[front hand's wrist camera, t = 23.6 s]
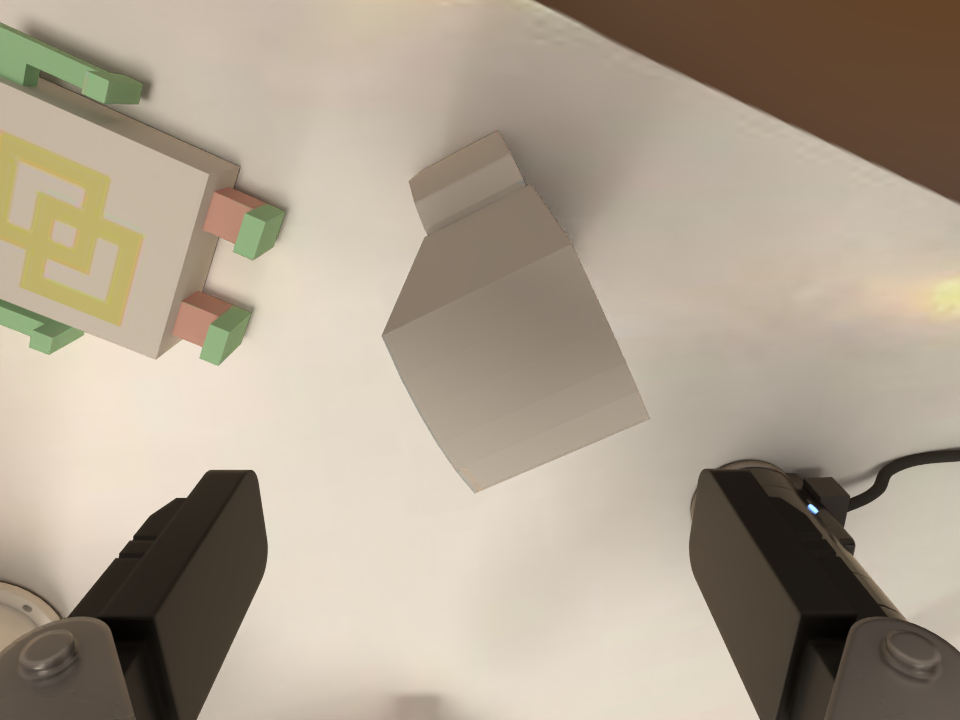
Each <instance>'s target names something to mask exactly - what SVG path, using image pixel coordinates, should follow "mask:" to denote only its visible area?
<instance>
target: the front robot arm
mask: <svg viewBox="0 0 960 720" xmlns="http://www.w3.org/2000/svg"><path fill="white" fill-rule="evenodd" d="M956 461H960V450H956V451H941V452H929V453H921V454H916V455H911V456H907V457H904V458H901V459H898V460H896V461H894V462H892V463H890V464H888V465H886V466H885V467H883V468H882V469H881V470H880V471H879V473H878V475H877V477H876V480H875V483H874V485H873V486H872V487H871V488H870V489H868V490H867V491H865V492H864V493H862V494H860V495H857V496H855V497H853V498H850V495H849V494H848V493H847V492H846V491H845V490H844V489H843V488H842V487H841V486H840V485H839V484H838V483H837V482H836V481H835V480H834V479H833V478H832V477H824V478H804V482H803V481H802V480H801V478H800V477H799V476H798V475H797V474H785V473H784V472H783V471H782V470H781V469H779V468H778V467H776V466H774V465H772V464H769V463H766V462H761V461H741V462H736V463H732V464H729V465H727V466H724V467H722V468H720V469H704V470H702V472H701V474H700V476H699V480H698V486H697V491H696V493H695V495H694V497H693V500H692V504H691V518H692V526H691V533H690V541H689V554H690V562H691V567H692V571H693V574H694V577H695V579H696V581H697V583H698V586H699V588H700V590H701V592H702V594H703V597H704V599H705V601H706V603H707V605H708V607H709V610H710V612H711V614H712V616H713V618H714V620H715V623H716V625H717V627H718V629H719V631H720V634H721V636H722V638H723V640H724V642H725V644H726V647H727V649H728V651H729V653H730V655H731V657H732V660H733V662H734V664H735V666H736V668H737V671H738V673H739V675H740V677H741V679H742V681H743V684H744V686H745V688H746V690H747V692H748V694H749V697H750V699H751V701H752V703H753V705H754V708H755V710H756V712H757V714H758V716H759V718H760V720H960V652H959V651H958V650H957V649H956V648H955V647H953V646H952V645H951V644H950V643H948V642H947V641H946V640H944V639H942V638H941V637H939V636H938V635H936V634H934V633H933V632H931V631H929V630H927V629H925V628H923V627H920V626H918V625H916V624H913V623H910V622H908V621H907V620H906V619H905V617H904V616H903V615H902V614H901V613H900V611H899V610H898V609H897V608H896V607H895V605H894V604H893V603H892V602H891V601H890V600H889V598H888V597H887V596H886V595H885V594H884V592H883V591H882V590H881V589H880V588H879V586H878V585H877V584H876V583H875V582H874V581H873V579H872V578H871V577H870V576H869V575H868V573H867V572H866V571H865V570H864V569H863V567H862V566H861V565H860V564H859V563H858V561H857V560H856V559H855V558H854V557H853V556H854V551H855V541H854V540H853V538H852V537H851V536H850V535H849V534H848V532H847V531H846V530H845V529H844V524H845V519H846V514H847V512H849V511H851V510H854V509H857V508H859V507H861V506H864V505H866V504H868V503H870V502H872V501H873V500H875V499H876V498H878V497H879V496H880V495H881V494H882V493H883V492H884V491H885V490H886V488H887V486H888V482H889V479H890V477H891V476H892V475H893V474H895V473H897V472H899V471H901V470H904V469H906V468H909V467H913V466H917V465H923V464H930V463H942V462H956ZM267 553H268V544H267V536H266V529H265V522H264V516H263V509H262V503H261V496H260V489H259V483H258V478H257V476H256V473H255V472H254V471H253V470H209V471H208V472H206V473H205V475H204V476H203V477H202V479H201V480H200V481H199V482H198V484H197V485H196V486H195V488H194V489H193V490H192V492H191V493H190V494H189V496H188V497H187V498H176V499H174V500H173V501H171V502H170V503H168V504H167V505H165V506H164V507H162V508H161V509H159V510H158V511H156V512H155V513H153V514H152V515H151V516H150V517H149V518H148V519H147V520H146V521H145V523H144V524H143V525H142V526H141V528H140V529H139V530H138V531H137V533H136V534H135V535H134V536H133V541H129V542H128V544H127V545H126V546H125V547H124V549H123V550H122V551H121V552H120V553H119V558H115V560H114V561H113V562H112V563H111V565H110V566H109V567H108V568H107V569H106V571H105V572H104V573H103V574H102V576H101V577H100V578H99V579H98V580H97V582H96V583H95V584H94V585H93V587H92V588H91V589H90V590H89V592H88V593H87V594H86V595H85V596H84V598H83V599H82V600H81V601H80V603H79V604H78V605H77V606H76V608H75V609H74V610H73V611H72V612H71V614H70V615H69V616H68V617H67V618H64V619H60V620H56V621H53V622H50V623H47V624H44V625H42V626H40V627H37V628H35V629H33V630H31V631H29V632H27V633H26V634H24V635H22V636H21V637H19V638H18V639H16V640H14V641H13V642H12V643H10V644H9V645H8V646H7V647H5V648H4V649H3V650H2V651H1V652H0V720H197V717H198V715H199V713H200V711H201V709H202V707H203V705H204V702H205V700H206V698H207V696H208V694H209V692H210V690H211V687H212V685H213V683H214V681H215V679H216V677H217V674H218V672H219V670H220V668H221V666H222V664H223V662H224V659H225V657H226V655H227V653H228V651H229V649H230V647H231V644H232V642H233V640H234V638H235V636H236V634H237V631H238V629H239V627H240V625H241V623H242V621H243V619H244V616H245V614H246V612H247V610H248V608H249V606H250V604H251V601H252V599H253V597H254V595H255V593H256V591H257V589H258V586H259V584H260V582H261V580H262V578H263V575H264V572H265V568H266V563H267Z"/></svg>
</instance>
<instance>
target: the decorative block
mask: <svg viewBox="0 0 960 720" xmlns="http://www.w3.org/2000/svg"><path fill="white" fill-rule="evenodd" d="M40 70H42V71H44V72H47V73H49V74H51V75H53V76H55V77H58V78H60V79H62V80H64V81H67V82H69V83H71V84H73V85H75V86H78V87H80V88H82V92H81V94H84V95H86V96H88V97H90V98H93V99H95V100H97V101H99V102H101V103H104V104H139V100H140V96H141V92H142V88H143V83H141V82H139V81H136V80H134V79H132V78H130V77H128V76H125V75H123V74H115V73H110V72H108V71H106V70H103V69H101V68H99V67H97V66H95V65H92V64H90V63H88V62H86V61H84V60H81V59H79V58H77V57H75V56H73V55H71V54H68V53H66V52H64V51H62V50H60V49H57V48H55V47H53V46H51V45H49V44H46V43H44V42H42V41H40V40H38V39H36V38H33V37H31V36H29V35H27V34H25V33H22V32H20V31H18V30H16V29H14V28H11V27H9V26H7V25H5V24H3V23H1V22H0V325H3V326H5V327H8V328H11V329H13V330H16V331H18V332H21V333H24V334H26V335H29V336H31V339H30V344H29V347H30V348H32V349H35V350H37V351H40V352H43V353H45V354H48V355H50V354H51V353H53V352H55V351H57V350H58V349H60V348H62V347H64V346H65V345H67V344H69V343H71V342H72V341H74V340H76V339H78V338H80V337H81V336H83V335H84V332H86V333H89V334H91V335H94V336H97V337H99V338H102V339H104V340H107V341H109V342H112V343H114V344H117V345H120V346H122V347H125V348H127V349H130V350H132V351H135V352H137V353H140V354H143V355H145V356H148V357H150V358H153V359H155V360H156V359H157V358H159V357H160V356H161V355H162V354H164V353H165V352H166V351H168V350H169V349H170V348H172V347H173V346H174V345H175V344H177V343H178V342H179V341H181V340H182V339H184V340H186V341H189V342H191V343H194V344H196V345H199V346H201V347H203V348H202V351H201V355H200V359H203V360H205V361H208V362H210V363H213V364H215V365H218V366H219V365H220V364H221V363H222V362H223V361H224V360H225V359H226V358H227V357H228V356H229V355H230V354H231V353H232V352H233V351H234V350H235V349H236V348H237V347H238V346H239V345H240V344H241V342H242V339H243V336H244V333H245V330H246V327H247V324H248V321H249V318H250V315H251V312H248V311H246V310H243V309H241V308H239V307H236V306H234V305H231V304H229V303H226V302H224V301H222V300H219V299H217V298H214V297H212V296H209V295H207V294H205V293H202V291H203V287H204V284H205V281H206V277H207V274H208V271H209V268H210V264H211V261H212V258H213V254H214V251H215V248H216V245H217V241H218V238H219V237H221V238H223V239H226V240H228V241H230V242H233V243H235V247H234V250H233V252H234V253H237V254H239V255H241V256H244V257H246V258H248V259H251V260H254V259H256V258H258V257H259V256H261V255H262V254H264V253H265V252H267V251H268V250H270V249H271V248H273V247H274V244H275V241H276V238H277V235H278V233H279V230H280V227H281V224H282V221H283V218H284V215H285V211H283V210H280V209H278V208H276V207H274V206H271V205H269V204H267V203H265V202H262V201H260V200H258V199H255V198H253V197H251V196H249V195H246V194H244V193H242V192H240V191H237V190H235V189H234V185H235V182H236V179H237V176H238V172H239V169H240V167H239V166H237V165H234V164H232V163H230V162H228V161H225V160H223V159H221V158H219V157H217V156H214V155H212V154H210V153H208V152H205V151H203V150H201V149H199V148H196V147H194V146H192V145H190V144H188V143H185V142H183V141H181V140H179V139H176V138H174V137H172V136H170V135H167V134H165V133H163V132H161V131H158V130H156V129H154V128H152V127H150V126H147V125H145V124H143V123H141V122H138V121H136V120H134V119H132V118H129V117H127V116H125V115H123V114H121V113H118V112H116V111H114V110H112V109H109V108H107V107H105V106H103V105H100V104H98V103H96V102H94V101H92V100H89V99H87V98H85V97H83V96H80V95H78V94H76V93H74V92H71V91H69V90H67V89H65V88H63V87H60V86H58V85H56V84H54V83H51V82H49V81H47V80H45V79H42V78H40V77H39V73H40Z"/></svg>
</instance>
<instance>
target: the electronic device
mask: <svg viewBox="0 0 960 720" xmlns="http://www.w3.org/2000/svg"><path fill="white" fill-rule="evenodd" d="M409 184H410V188H411V191H412V195H413V199H414V203H415V205H416V208H417V211H418V213H419V216H420V219H421V221H422V224H423V227H424V229H425V231H426V232H427V234H428V236H426V237H425V238H424V240H423V242H422V244H421V247H420V249H419V251H418V254H417V256H416V258H415V260H414V263H413V265H412V267H411V270H410V272H409V274H408V277H407V279H406V281H405V283H404V286H403V288H402V290H401V293H400V295H399V297H398V299H397V302H396V304H395V306H394V309H393V311H392V313H391V316H390V318H389V320H388V322H387V325H386V327H385V329H384V332H383V334H382V338H383V340H384V342H385V344H386V347H387V349H388V351H389V353H390V355H391V358H392V360H393V362H394V364H395V366H396V369H397V371H398V373H399V375H400V378H401V380H402V382H403V384H404V385H405V387H406V389H407V391H408V393H409V395H410V397H411V399H412V401H413V403H414V404H415V406H416V408H417V410H418V412H419V414H420V416H421V417H422V419H423V421H424V422H425V424H426V426H427V427H428V429H429V431H430V432H431V434H432V436H433V437H434V439H435V441H436V442H437V444H438V446H439V447H440V449H441V450H442V452H443V453H444V455H445V456H446V457H447V459H448V460H449V462H450V463H451V465H452V466H453V468H454V469H455V471H456V472H457V473H458V474H459V475H460V477H461V478H462V479H463V480H464V481H465V483H466V484H467V485H468V486H469V487H470V489H471V490H472V491H473V492H474V493H477V492H479V491H482V490H484V489H486V488H489V487H491V486H493V485H496V484H498V483H500V482H503V481H505V480H507V479H510V478H512V477H514V476H517V475H519V474H521V473H524V472H526V471H529V470H531V469H533V468H536V467H538V466H540V465H543V464H545V463H547V462H550V461H552V460H554V459H557V458H559V457H561V456H564V455H566V454H568V453H571V452H573V451H576V450H578V449H580V448H583V447H585V446H587V445H590V444H592V443H594V442H597V441H599V440H601V439H604V438H606V437H608V436H611V435H613V434H616V433H618V432H620V431H623V430H625V429H627V428H630V427H632V426H634V425H637V424H639V423H641V422H644V421H646V420H648V419H650V418H649V416H648V413H647V411H646V408H645V406H644V404H643V401H642V399H641V396H640V394H639V392H638V389H637V387H636V385H635V382H634V380H633V378H632V375H631V373H630V371H629V368H628V366H627V364H626V362H625V359H624V357H623V355H622V353H621V350H620V348H619V346H618V344H617V341H616V339H615V337H614V335H613V332H612V330H611V328H610V326H609V323H608V321H607V319H606V317H605V315H604V312H603V310H602V308H601V306H600V304H599V302H598V299H597V297H596V295H595V293H594V291H593V288H592V286H591V284H590V282H589V280H588V278H587V275H586V273H585V271H584V269H583V267H582V265H581V263H580V260H579V258H578V256H577V254H576V252H575V250H574V248H573V245H572V243H571V242H570V240H569V239H568V238H567V236H566V235H565V233H564V232H563V230H562V229H561V227H560V226H559V224H558V223H557V222H556V220H555V219H554V217H553V216H552V214H551V213H550V211H549V210H548V208H547V207H546V206H545V204H544V203H543V201H542V200H541V198H540V197H539V195H538V194H537V192H536V191H535V190H534V188H533V187H532V185H531V184H528V185H525V182H524V180H523V178H522V176H521V174H520V172H519V170H518V167H517V165H516V163H515V161H514V159H513V157H512V155H511V153H510V151H509V149H508V147H507V146H506V144H505V142H504V140H503V138H502V137H501V135H500V133H499V131H498V130H497V131H496V132H494V133H492V134H490V135H488V136H486V137H484V138H482V139H480V140H479V141H477V142H475V143H473V144H471V145H469V146H467V147H465V148H463V149H461V150H460V151H458V152H456V153H454V154H452V155H450V156H448V157H446V158H444V159H443V160H441V161H439V162H437V163H435V164H433V165H431V166H429V167H427V168H425V169H424V170H422V171H421V172H420V173H418V174H417V175H416V176H415V177H413V178H412V179H411V180H410V181H409Z"/></svg>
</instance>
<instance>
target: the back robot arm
mask: <svg viewBox="0 0 960 720" xmlns="http://www.w3.org/2000/svg"><path fill="white" fill-rule="evenodd" d="M56 620H60V618H59V616H58V615H57V614H56V612H55V611H54V610H53V609H52V608H51V607H50V606H49V605H48V604H47V603H45V602H44V601H43V600H42V599H40V598H39V597H37V596H35V595H34V594H32V593H31V592H29V591H26V590H24V589H22V588H19V587H17V586H14V585H10V584H7V583H2V582H0V652H1V651H2V650H3V649H4V648H5V647H7V646H8V645H9V644H10V643H12V642H13V641H14V640H16V639H18V638H19V637H21V636H22V635H24V634H26V633H27V632H29V631H31V630H33V629H35V628H37V627H40V626H42V625H44V624H47V623H50V622H53V621H56Z"/></svg>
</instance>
